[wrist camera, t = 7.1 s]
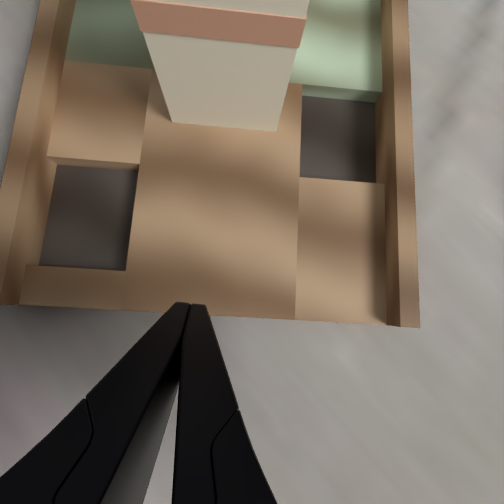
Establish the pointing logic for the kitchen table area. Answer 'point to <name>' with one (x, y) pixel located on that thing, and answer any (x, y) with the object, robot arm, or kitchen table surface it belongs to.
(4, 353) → the kitchen table surface
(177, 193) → the tray
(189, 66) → the cream block
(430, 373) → the kitchen table surface
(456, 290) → the kitchen table surface
